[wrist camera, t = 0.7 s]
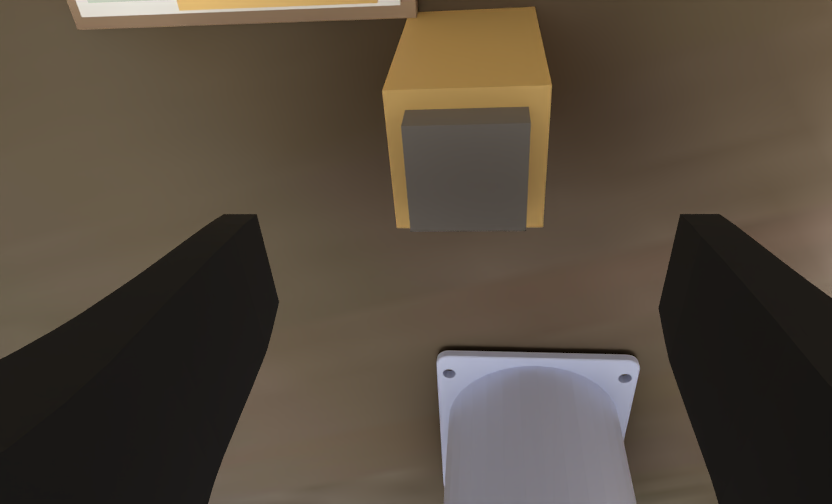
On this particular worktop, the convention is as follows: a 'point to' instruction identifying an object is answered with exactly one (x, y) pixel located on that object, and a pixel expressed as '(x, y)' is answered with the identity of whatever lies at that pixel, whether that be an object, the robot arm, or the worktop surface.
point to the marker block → (469, 121)
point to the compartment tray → (230, 12)
